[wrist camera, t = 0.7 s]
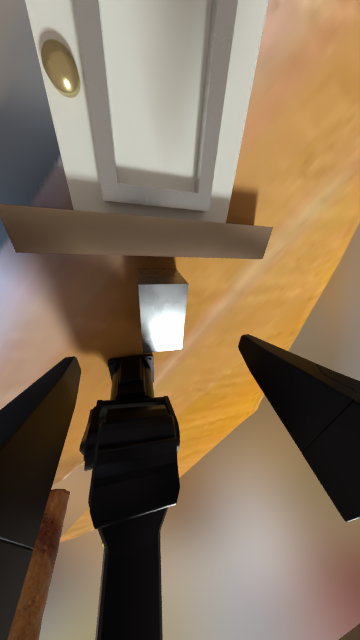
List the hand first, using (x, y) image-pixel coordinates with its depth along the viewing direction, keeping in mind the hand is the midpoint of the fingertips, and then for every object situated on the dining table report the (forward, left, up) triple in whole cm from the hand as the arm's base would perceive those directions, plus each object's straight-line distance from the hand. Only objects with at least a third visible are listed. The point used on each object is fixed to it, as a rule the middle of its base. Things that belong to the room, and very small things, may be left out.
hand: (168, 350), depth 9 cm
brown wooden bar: (+5, -1, -12) cm, 13 cm away
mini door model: (+13, -1, -12) cm, 18 cm away
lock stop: (-3, -1, -12) cm, 13 cm away
